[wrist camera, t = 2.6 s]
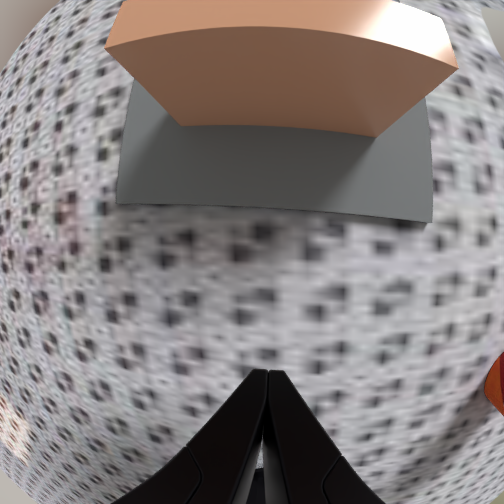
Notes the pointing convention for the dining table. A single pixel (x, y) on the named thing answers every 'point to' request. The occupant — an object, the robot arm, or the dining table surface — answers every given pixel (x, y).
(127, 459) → the dining table surface
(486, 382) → the coffee cup
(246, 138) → the mat
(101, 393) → the dining table surface
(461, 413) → the dining table surface
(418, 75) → the tile
